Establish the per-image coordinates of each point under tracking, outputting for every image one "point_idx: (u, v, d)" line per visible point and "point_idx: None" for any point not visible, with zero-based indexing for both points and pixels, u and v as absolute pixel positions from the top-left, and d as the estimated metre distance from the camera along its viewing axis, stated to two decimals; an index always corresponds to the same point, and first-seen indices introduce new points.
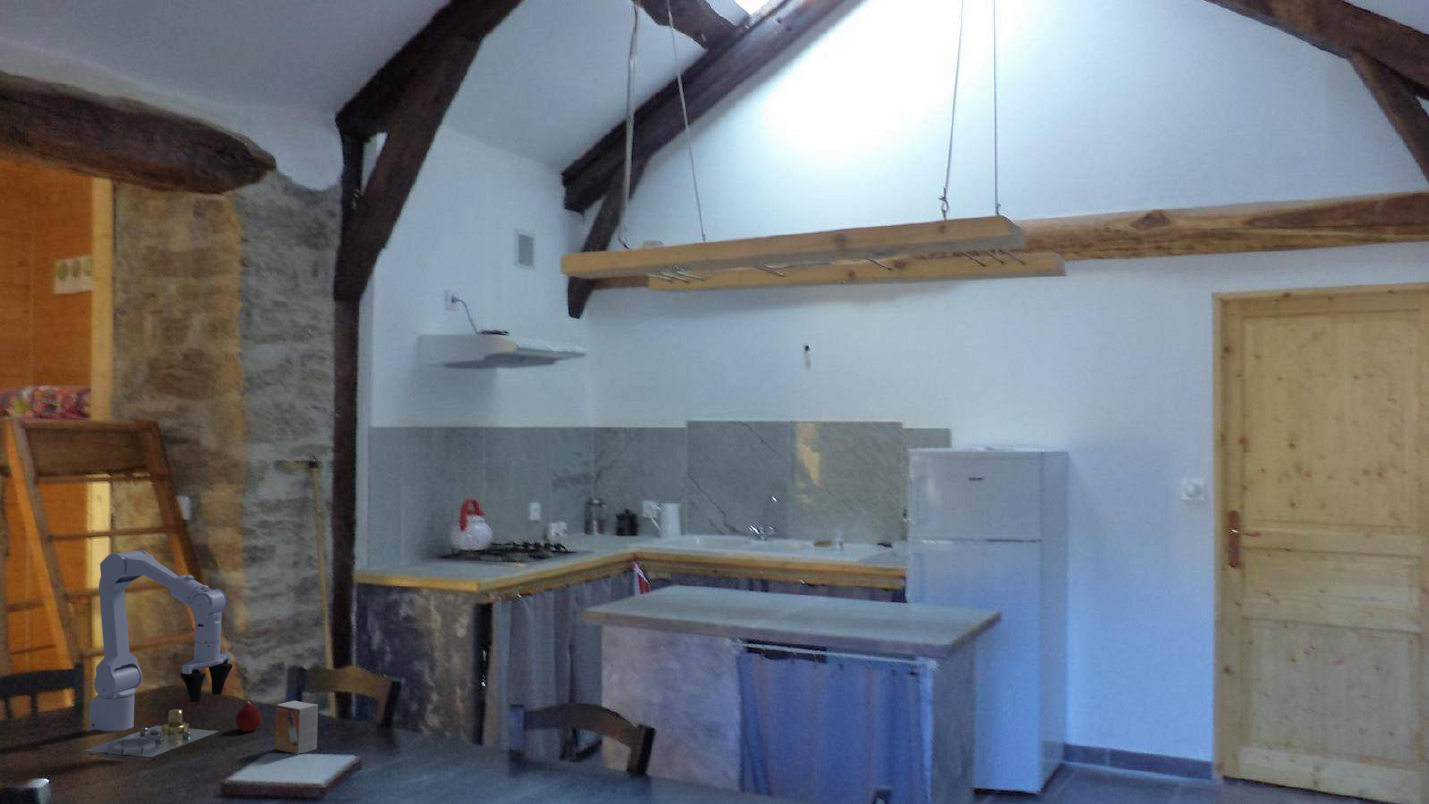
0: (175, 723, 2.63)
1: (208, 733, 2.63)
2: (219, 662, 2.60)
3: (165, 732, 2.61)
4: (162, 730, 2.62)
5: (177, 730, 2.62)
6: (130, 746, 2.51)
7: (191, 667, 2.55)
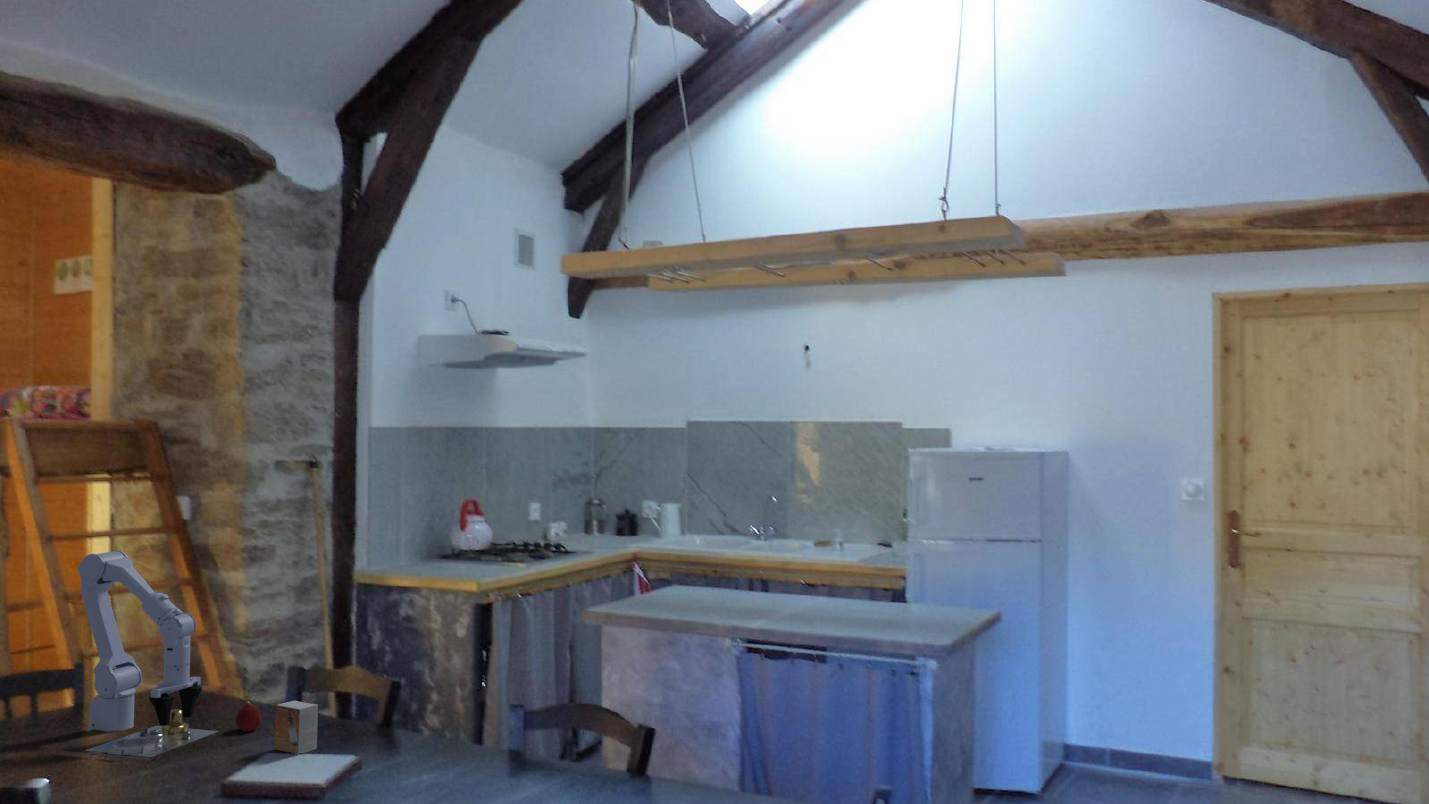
0: (175, 723, 2.63)
1: (208, 733, 2.63)
2: (188, 685, 2.63)
3: (165, 732, 2.61)
4: (162, 730, 2.62)
5: (177, 730, 2.62)
6: (130, 746, 2.51)
7: (160, 690, 2.58)
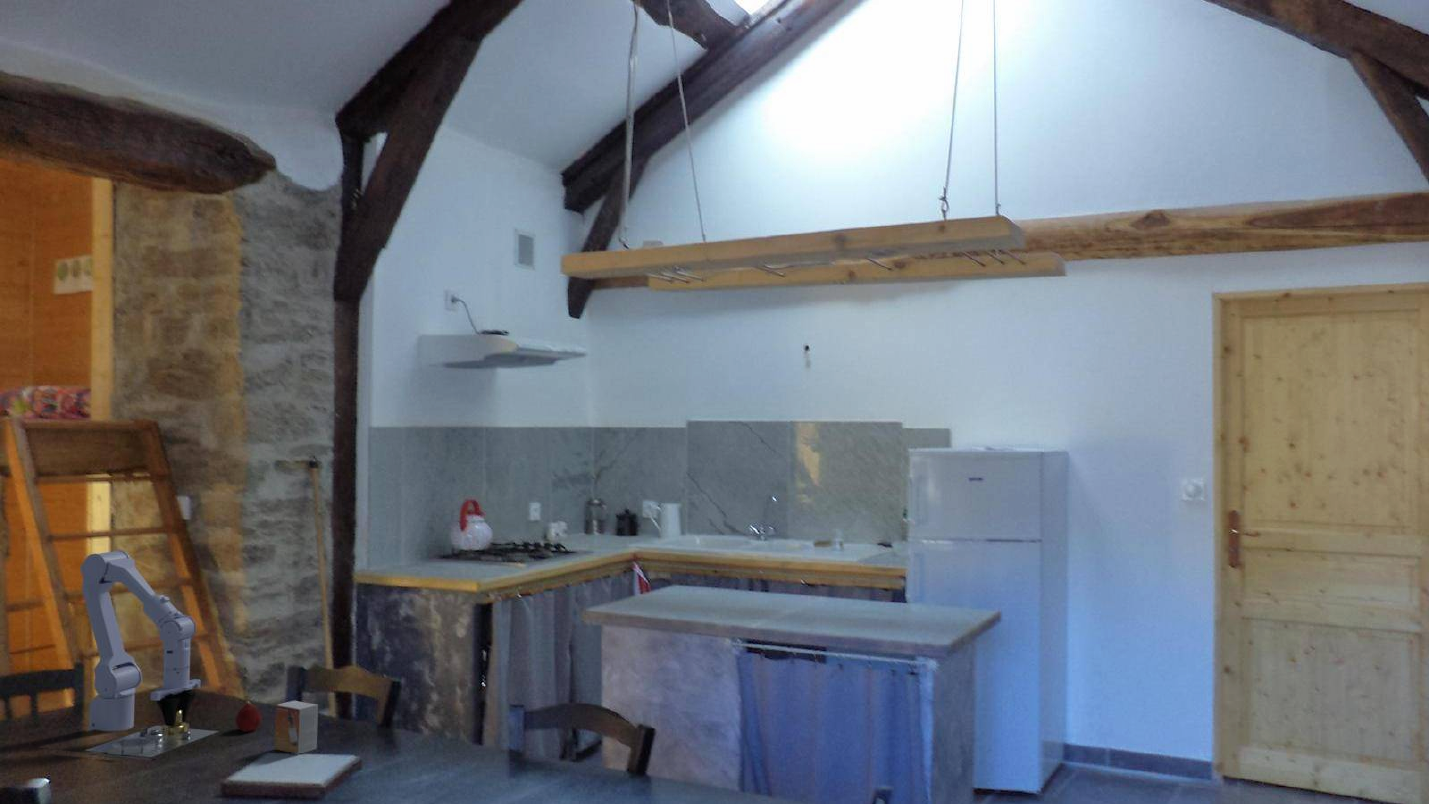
0: (175, 723, 2.63)
1: (208, 733, 2.63)
2: (188, 688, 2.63)
3: (165, 732, 2.61)
4: (162, 730, 2.62)
5: (177, 730, 2.62)
6: (130, 746, 2.51)
7: (159, 693, 2.58)
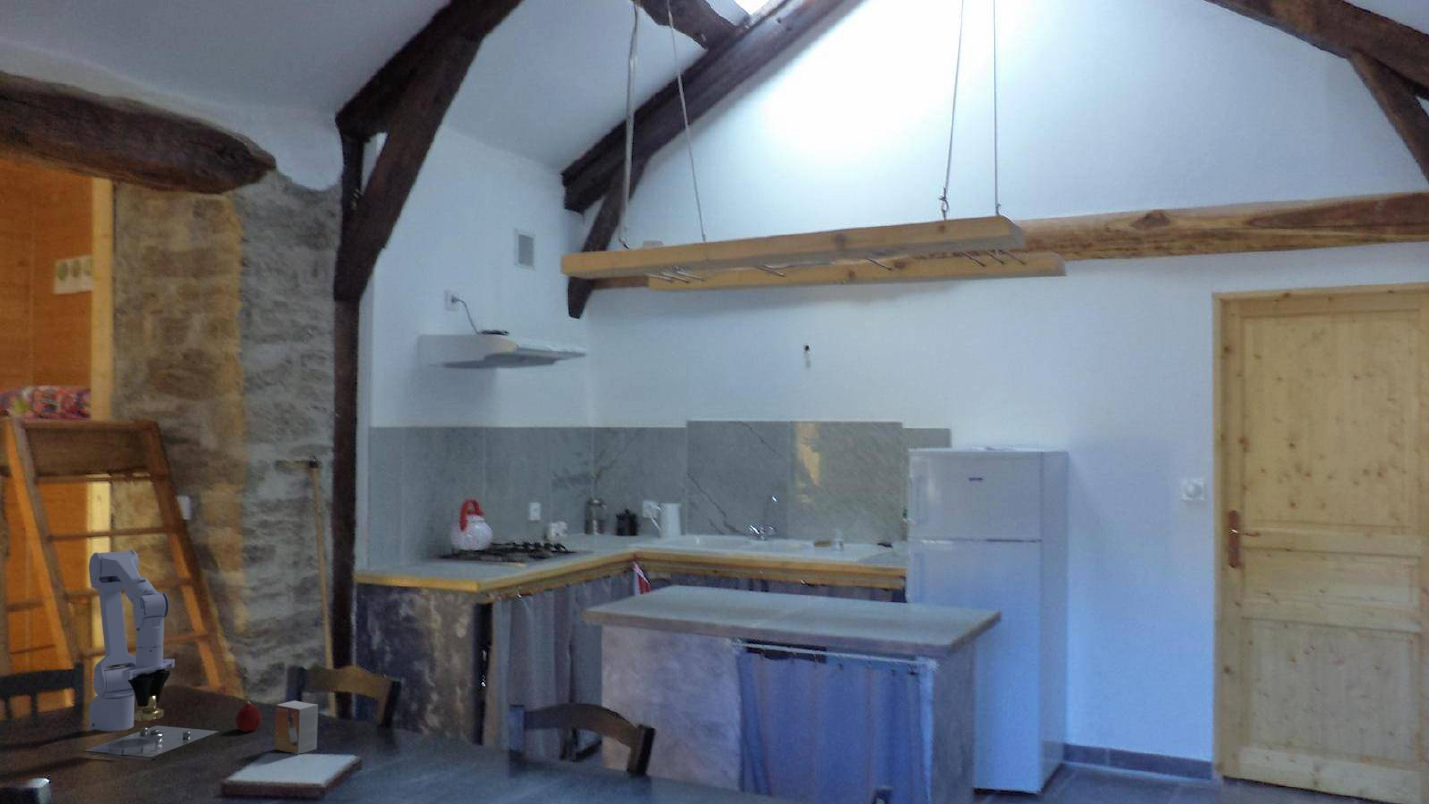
0: (148, 709, 2.53)
1: (208, 733, 2.63)
2: (161, 667, 2.53)
3: (138, 718, 2.52)
4: (135, 716, 2.53)
5: (150, 716, 2.52)
6: (130, 746, 2.51)
7: (131, 672, 2.48)
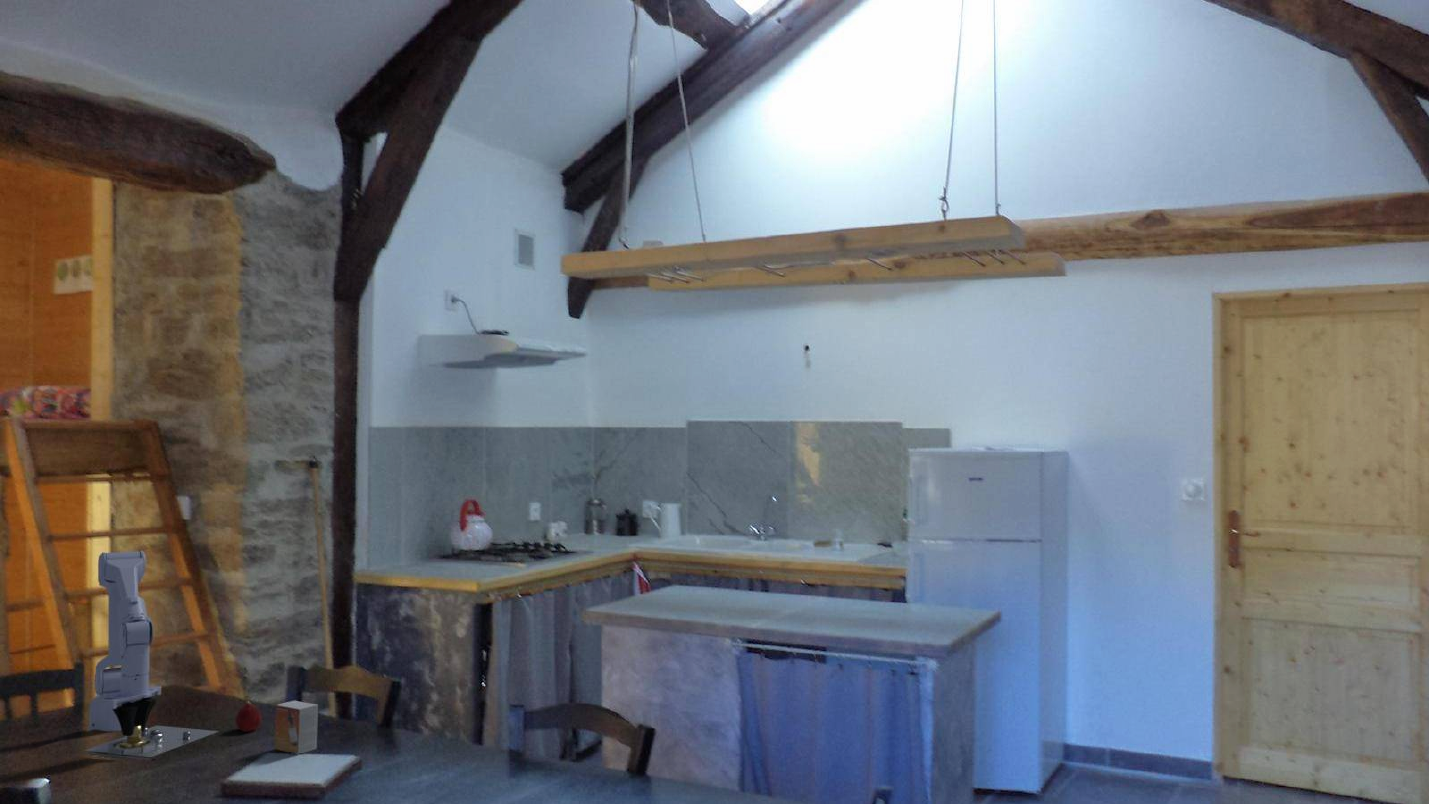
0: (133, 739, 2.49)
1: (208, 733, 2.63)
2: (146, 696, 2.49)
3: None
4: (120, 747, 2.48)
5: None
6: None
7: (116, 701, 2.44)
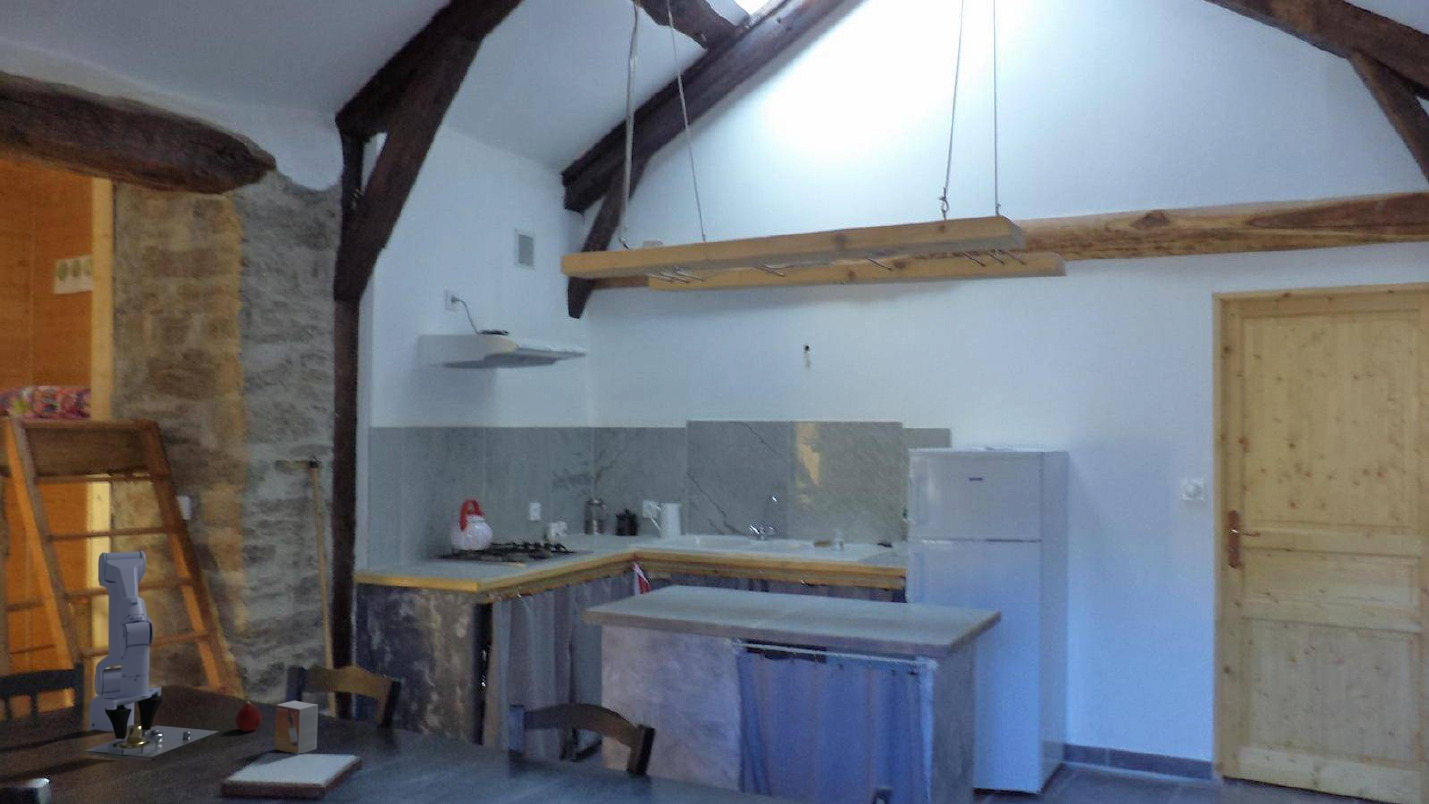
0: (133, 739, 2.49)
1: (208, 733, 2.63)
2: (146, 696, 2.49)
3: None
4: (120, 747, 2.48)
5: None
6: None
7: (115, 702, 2.44)
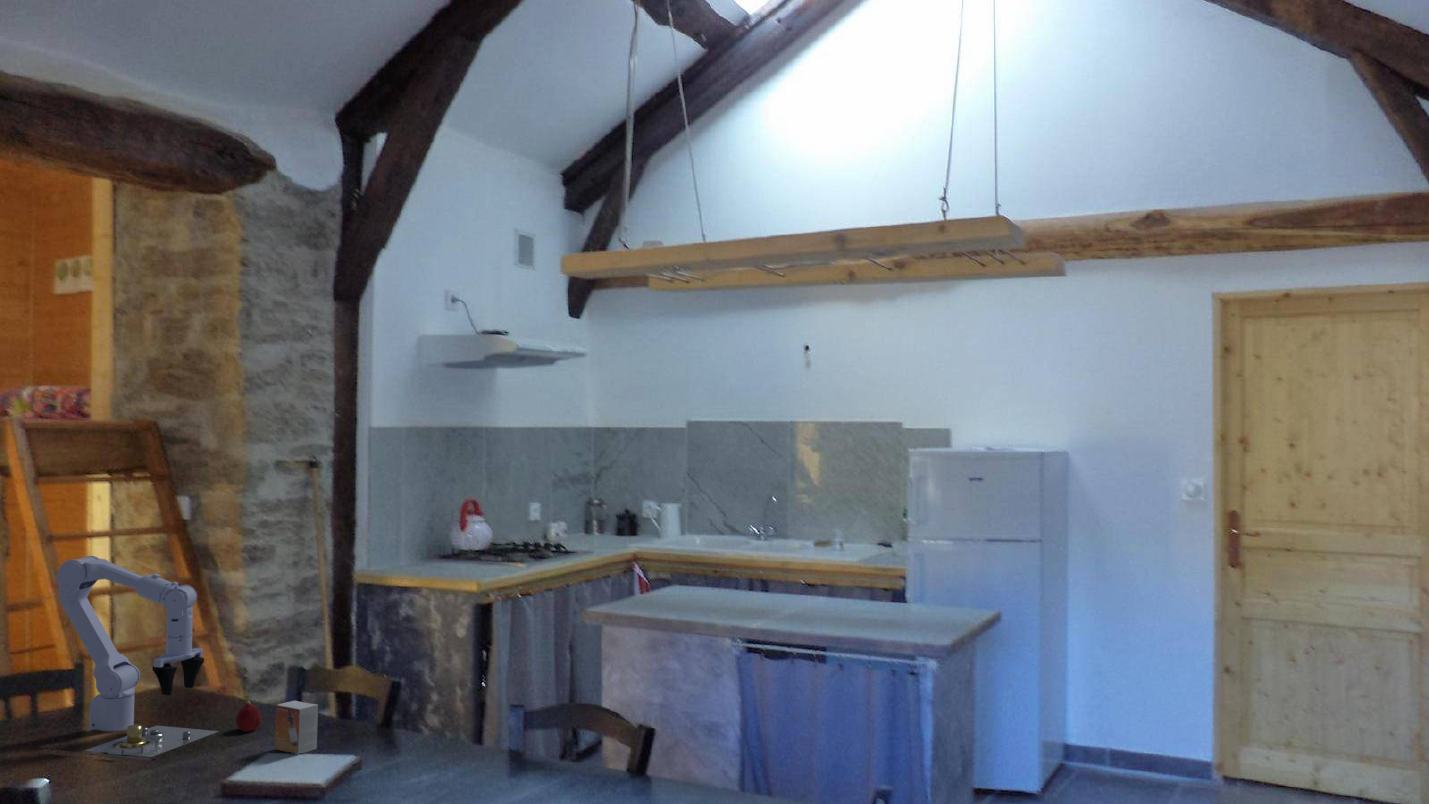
0: (133, 739, 2.49)
1: (208, 733, 2.63)
2: (190, 656, 2.67)
3: None
4: (120, 747, 2.48)
5: None
6: None
7: (162, 660, 2.62)
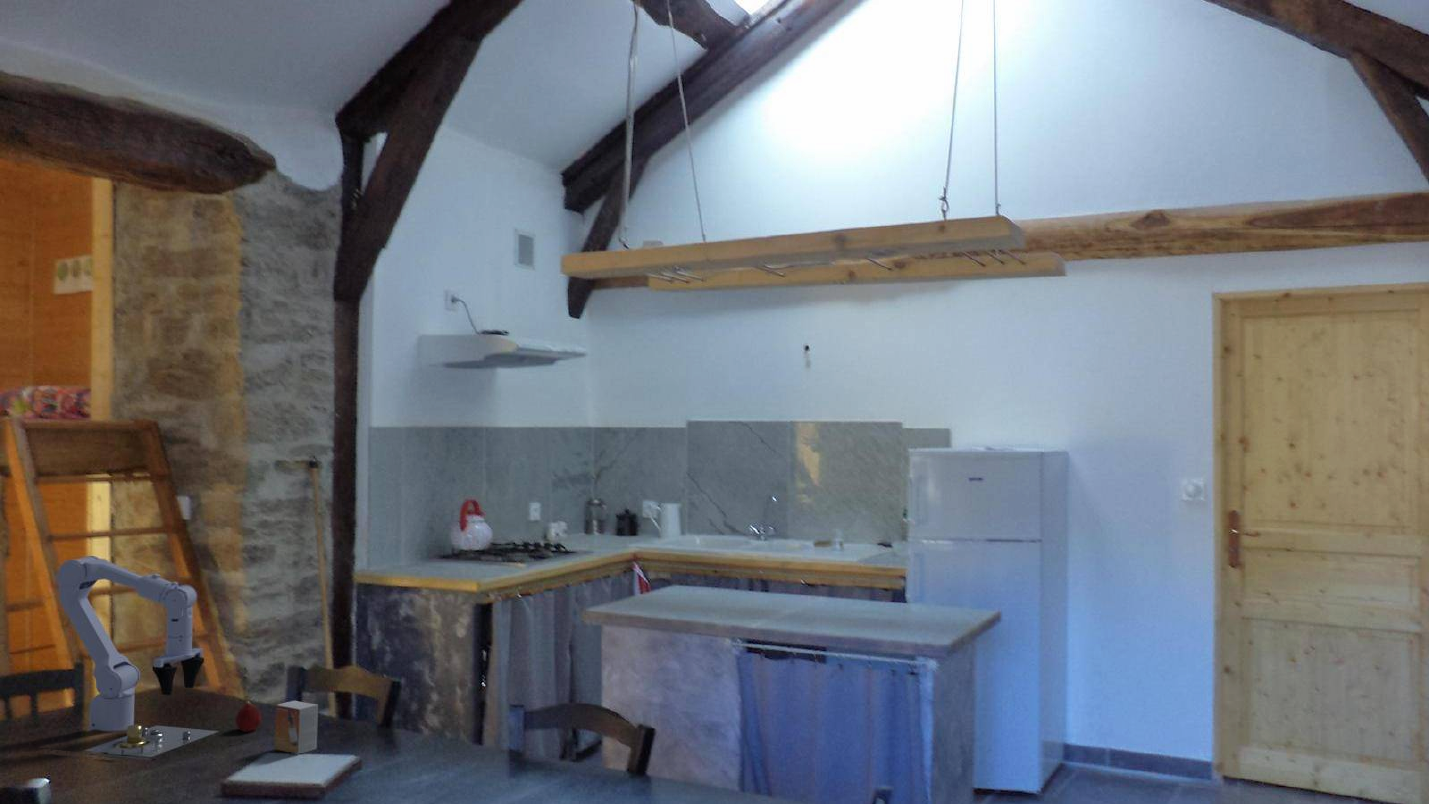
0: (133, 739, 2.49)
1: (208, 733, 2.63)
2: (190, 656, 2.67)
3: None
4: (120, 747, 2.48)
5: None
6: None
7: (162, 660, 2.62)
